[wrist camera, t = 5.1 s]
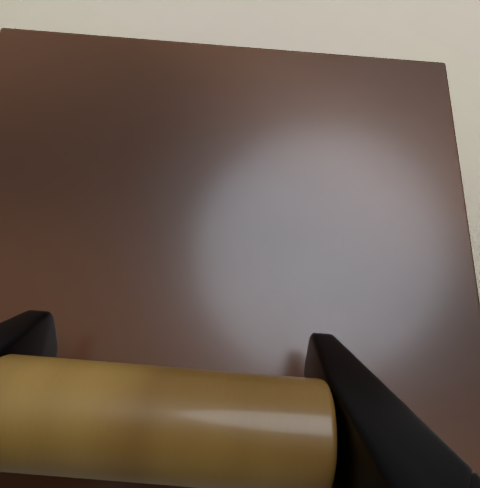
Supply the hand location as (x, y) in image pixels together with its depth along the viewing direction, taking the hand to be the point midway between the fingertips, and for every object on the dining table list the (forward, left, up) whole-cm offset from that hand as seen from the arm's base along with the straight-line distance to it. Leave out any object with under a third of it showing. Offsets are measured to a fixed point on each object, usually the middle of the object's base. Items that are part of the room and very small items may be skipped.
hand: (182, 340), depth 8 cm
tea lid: (+2, -2, -2) cm, 3 cm away
